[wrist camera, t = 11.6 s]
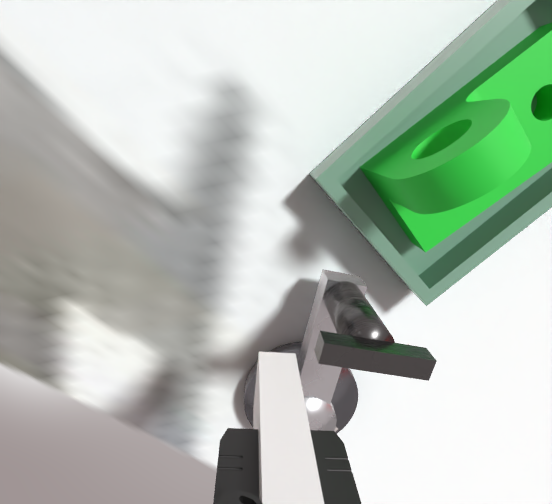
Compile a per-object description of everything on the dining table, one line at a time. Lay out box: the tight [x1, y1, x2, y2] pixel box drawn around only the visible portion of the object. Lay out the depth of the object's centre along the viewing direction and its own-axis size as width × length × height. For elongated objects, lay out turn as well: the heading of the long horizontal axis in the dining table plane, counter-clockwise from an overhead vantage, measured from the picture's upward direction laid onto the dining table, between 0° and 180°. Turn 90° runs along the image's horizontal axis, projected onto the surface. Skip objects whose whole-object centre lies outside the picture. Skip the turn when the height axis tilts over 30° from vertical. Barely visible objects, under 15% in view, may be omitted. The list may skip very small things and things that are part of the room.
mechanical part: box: [360, 23, 552, 252], centre depth 18 cm, size 12×6×8 cm, turn 128°
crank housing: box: [244, 342, 358, 434], centre depth 27 cm, size 8×8×1 cm
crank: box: [297, 269, 436, 431], centre depth 21 cm, size 12×5×8 cm, turn 167°
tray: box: [309, 0, 552, 306], centre depth 21 cm, size 11×17×2 cm, turn 132°
